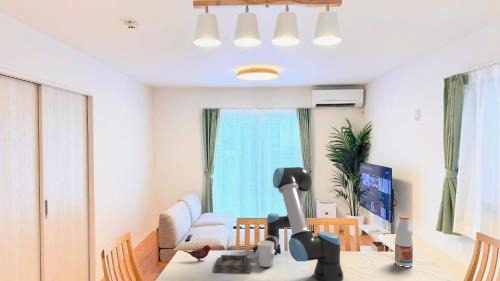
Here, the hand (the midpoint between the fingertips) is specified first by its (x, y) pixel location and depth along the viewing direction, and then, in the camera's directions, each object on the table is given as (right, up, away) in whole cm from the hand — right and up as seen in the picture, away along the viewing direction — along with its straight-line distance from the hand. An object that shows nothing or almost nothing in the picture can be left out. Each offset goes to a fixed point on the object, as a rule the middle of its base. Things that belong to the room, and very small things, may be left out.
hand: (264, 255), depth 185 cm
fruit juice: (+81, -8, +7) cm, 82 cm away
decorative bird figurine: (-40, -8, +12) cm, 42 cm away
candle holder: (+1, -7, +5) cm, 8 cm away
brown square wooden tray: (-18, -8, +5) cm, 20 cm away
